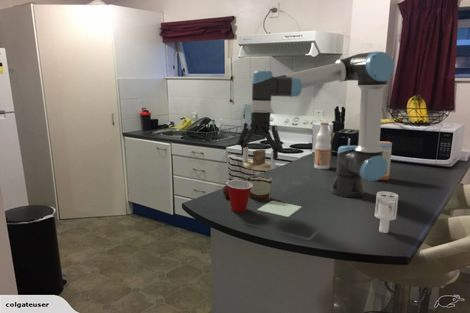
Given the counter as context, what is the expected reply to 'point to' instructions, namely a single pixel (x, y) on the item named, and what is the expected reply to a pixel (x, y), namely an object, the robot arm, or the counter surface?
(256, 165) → the lid
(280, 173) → the counter surface
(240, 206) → the plastic cup
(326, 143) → the fruit juice
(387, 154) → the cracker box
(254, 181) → the food container
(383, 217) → the white stepped cylinder
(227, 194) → the potato
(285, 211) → the mat
